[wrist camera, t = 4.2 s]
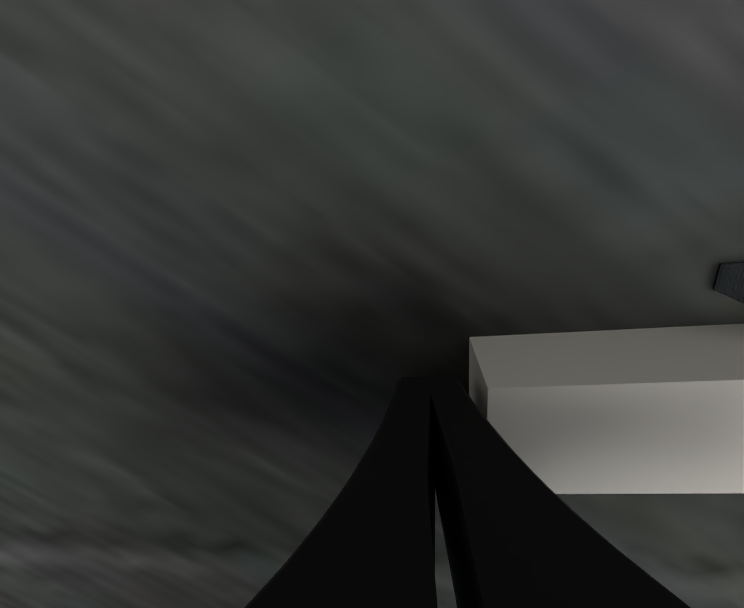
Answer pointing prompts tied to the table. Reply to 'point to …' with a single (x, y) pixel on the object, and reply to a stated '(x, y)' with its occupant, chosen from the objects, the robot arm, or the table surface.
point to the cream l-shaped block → (619, 407)
